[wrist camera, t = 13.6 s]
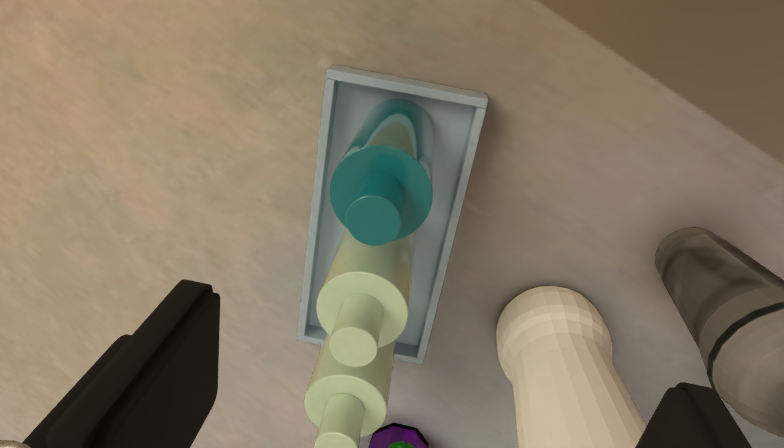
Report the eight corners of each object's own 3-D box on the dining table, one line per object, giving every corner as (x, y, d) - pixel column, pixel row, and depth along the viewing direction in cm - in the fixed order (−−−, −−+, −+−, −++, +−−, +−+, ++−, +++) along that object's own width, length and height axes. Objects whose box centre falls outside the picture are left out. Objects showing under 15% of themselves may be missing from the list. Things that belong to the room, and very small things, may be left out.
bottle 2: (341, 272, 40) (294, 406, 27) (405, 284, 40) (388, 424, 27) (333, 324, 42) (286, 471, 29) (394, 336, 42) (373, 488, 29)
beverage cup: (612, 263, 38) (766, 515, 20) (691, 189, 35) (952, 404, 17) (684, 314, 39) (890, 595, 21) (765, 246, 37) (1082, 504, 18)
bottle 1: (353, 188, 37) (307, 295, 24) (423, 201, 37) (412, 315, 24) (344, 249, 39) (297, 377, 26) (410, 262, 39) (394, 396, 26)
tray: (333, 64, 34) (326, 68, 32) (486, 93, 34) (488, 99, 32) (302, 325, 43) (296, 340, 41) (423, 348, 43) (422, 365, 41)
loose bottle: (367, 91, 34) (322, 155, 21) (442, 106, 34) (442, 178, 21) (356, 163, 36) (310, 260, 23) (427, 177, 36) (419, 281, 23)
